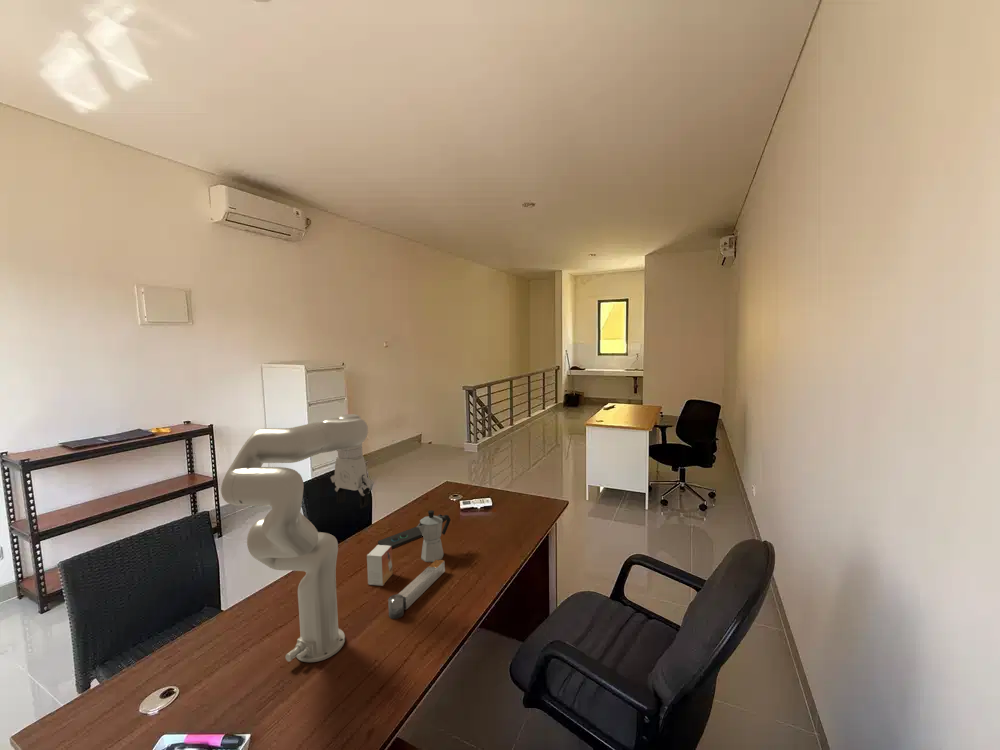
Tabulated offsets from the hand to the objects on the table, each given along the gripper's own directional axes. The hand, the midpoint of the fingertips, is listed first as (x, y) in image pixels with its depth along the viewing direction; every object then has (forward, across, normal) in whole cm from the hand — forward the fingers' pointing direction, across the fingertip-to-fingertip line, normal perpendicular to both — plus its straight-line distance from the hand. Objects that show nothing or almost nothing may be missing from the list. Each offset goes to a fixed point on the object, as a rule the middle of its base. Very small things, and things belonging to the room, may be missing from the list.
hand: (352, 504), depth 141 cm
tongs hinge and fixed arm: (+30, +19, +7) cm, 36 cm away
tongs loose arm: (+30, +20, +10) cm, 37 cm away
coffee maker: (+30, +11, +30) cm, 44 cm away
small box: (+30, +2, +9) cm, 31 cm away
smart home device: (+30, -9, +37) cm, 49 cm away
